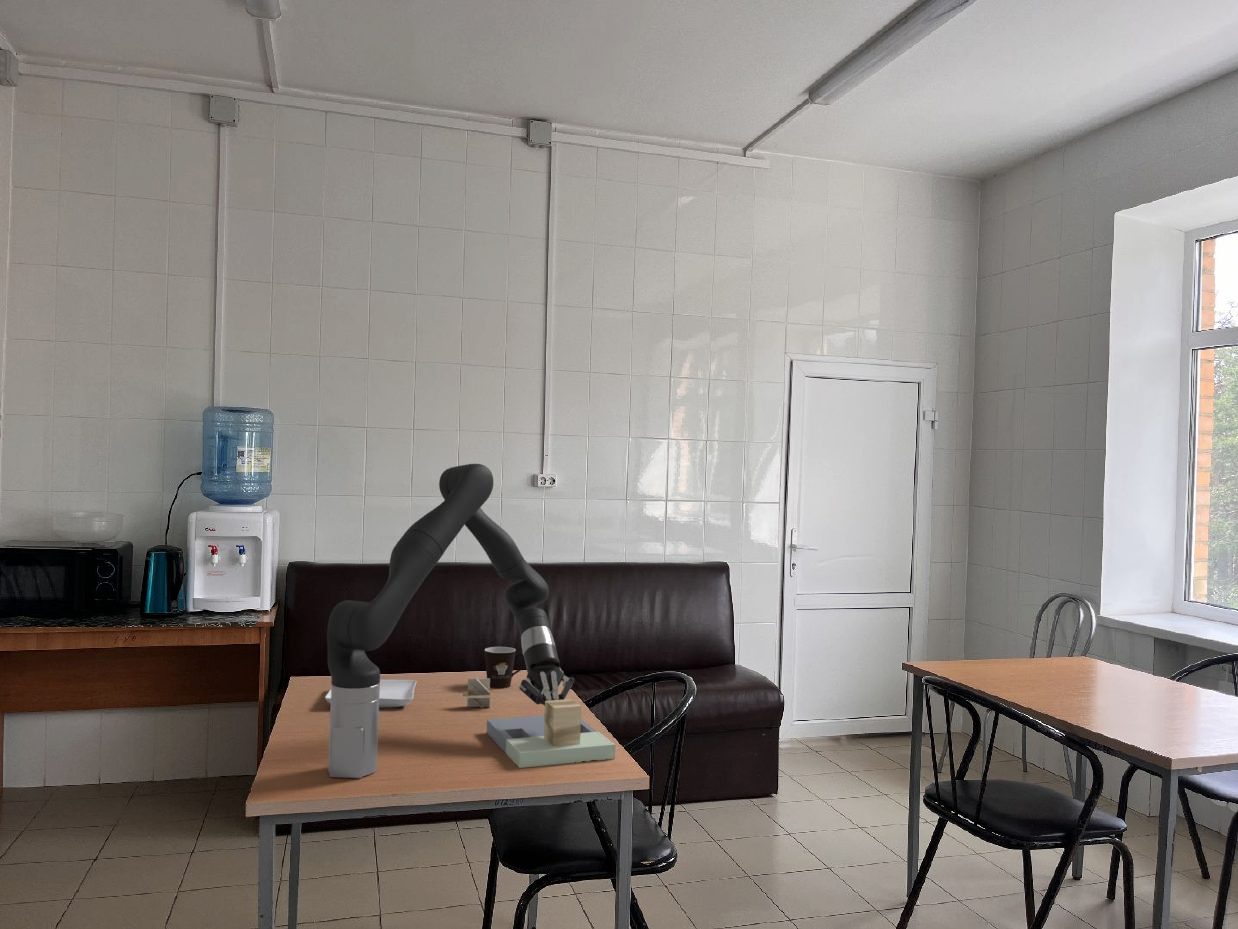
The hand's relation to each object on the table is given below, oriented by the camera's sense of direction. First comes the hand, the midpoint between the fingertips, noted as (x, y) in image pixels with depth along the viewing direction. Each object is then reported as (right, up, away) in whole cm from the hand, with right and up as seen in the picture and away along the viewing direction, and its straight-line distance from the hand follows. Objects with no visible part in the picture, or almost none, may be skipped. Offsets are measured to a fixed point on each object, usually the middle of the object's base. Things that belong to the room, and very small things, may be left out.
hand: (555, 718), depth 199 cm
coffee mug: (-18, -7, +57) cm, 60 cm away
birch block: (+2, -4, -3) cm, 5 cm away
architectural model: (-22, -7, +34) cm, 41 cm away
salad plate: (-50, -6, +38) cm, 63 cm away
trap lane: (-2, -7, +4) cm, 8 cm away
